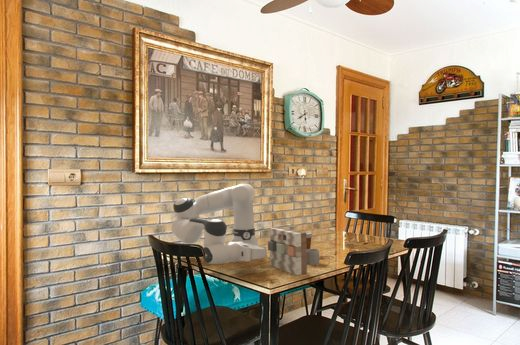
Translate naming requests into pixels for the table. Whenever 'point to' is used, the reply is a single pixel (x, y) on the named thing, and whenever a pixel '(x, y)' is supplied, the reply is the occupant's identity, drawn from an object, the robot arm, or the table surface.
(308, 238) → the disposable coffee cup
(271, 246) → the charcoal key
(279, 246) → the sage key
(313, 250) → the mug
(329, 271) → the table surface
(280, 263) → the keypad panel
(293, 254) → the terracotta key
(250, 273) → the table surface
